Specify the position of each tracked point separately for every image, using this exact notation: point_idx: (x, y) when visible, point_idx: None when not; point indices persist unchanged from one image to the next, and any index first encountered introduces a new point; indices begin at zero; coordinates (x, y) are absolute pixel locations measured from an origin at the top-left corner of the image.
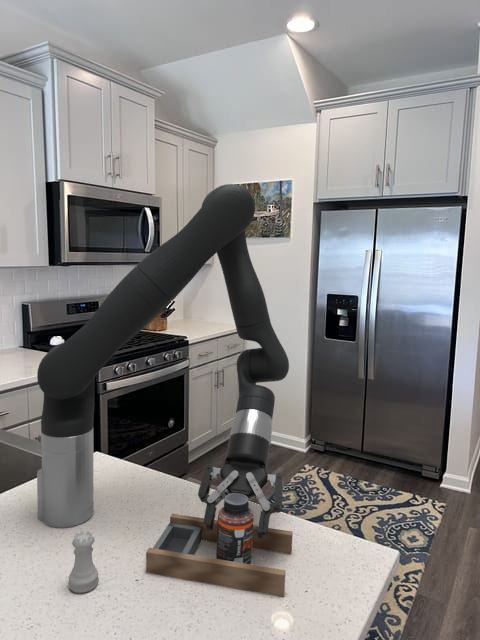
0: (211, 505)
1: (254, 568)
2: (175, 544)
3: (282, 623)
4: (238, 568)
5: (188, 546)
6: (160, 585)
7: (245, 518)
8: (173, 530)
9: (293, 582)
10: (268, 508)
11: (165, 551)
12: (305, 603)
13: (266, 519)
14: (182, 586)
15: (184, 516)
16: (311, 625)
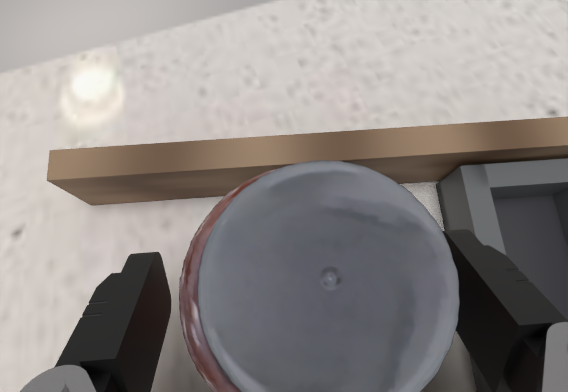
0: (533, 312)
1: (173, 151)
2: None
3: (90, 83)
4: (236, 139)
5: (490, 243)
6: (474, 113)
7: (218, 215)
8: None
9: (61, 262)
10: (33, 386)
11: (547, 139)
12: (22, 175)
13: (85, 331)
14: None
15: None
16: (8, 99)
